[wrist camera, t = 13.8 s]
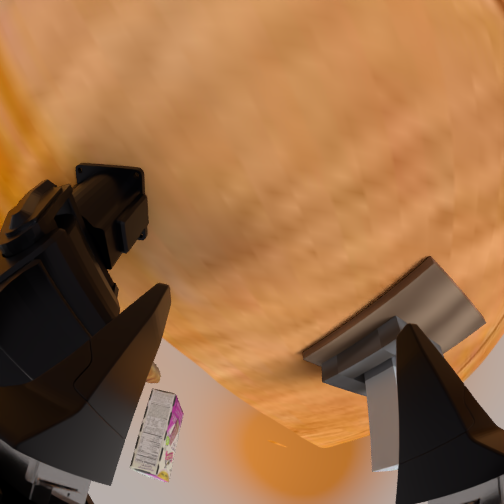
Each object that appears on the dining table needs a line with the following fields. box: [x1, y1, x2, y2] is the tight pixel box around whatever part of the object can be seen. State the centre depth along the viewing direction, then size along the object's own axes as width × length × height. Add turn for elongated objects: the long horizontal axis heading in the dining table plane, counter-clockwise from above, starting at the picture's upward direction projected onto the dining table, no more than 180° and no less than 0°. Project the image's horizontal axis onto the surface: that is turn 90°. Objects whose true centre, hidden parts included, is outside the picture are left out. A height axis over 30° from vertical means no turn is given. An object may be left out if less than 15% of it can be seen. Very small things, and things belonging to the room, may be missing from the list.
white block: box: [364, 355, 399, 472], centre depth 24 cm, size 4×4×14 cm
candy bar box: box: [130, 389, 183, 482], centre depth 41 cm, size 11×5×16 cm, turn 175°
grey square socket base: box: [303, 256, 486, 396], centre depth 27 cm, size 16×18×4 cm
